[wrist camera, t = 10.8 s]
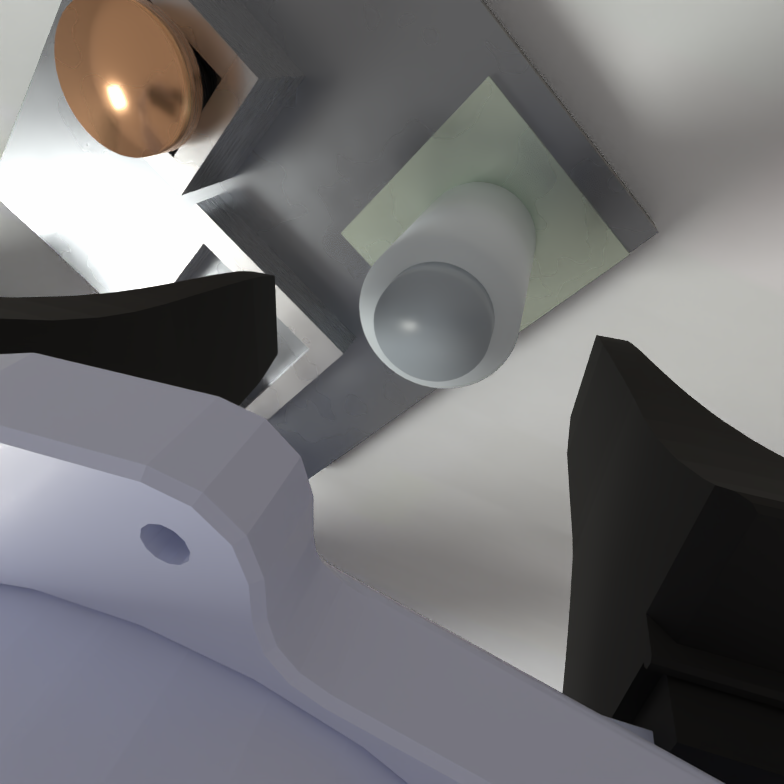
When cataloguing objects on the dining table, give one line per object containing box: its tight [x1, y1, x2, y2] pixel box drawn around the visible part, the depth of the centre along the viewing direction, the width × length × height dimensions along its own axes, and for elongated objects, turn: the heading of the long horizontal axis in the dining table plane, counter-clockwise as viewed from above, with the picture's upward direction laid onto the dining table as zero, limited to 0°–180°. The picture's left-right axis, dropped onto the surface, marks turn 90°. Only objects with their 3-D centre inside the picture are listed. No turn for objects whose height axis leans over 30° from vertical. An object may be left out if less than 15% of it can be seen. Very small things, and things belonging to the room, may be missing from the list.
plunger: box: [54, 0, 222, 158], centre depth 16 cm, size 4×4×4 cm
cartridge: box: [359, 182, 536, 389], centre depth 16 cm, size 4×4×7 cm
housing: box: [0, 0, 658, 479], centre depth 19 cm, size 19×19×4 cm
